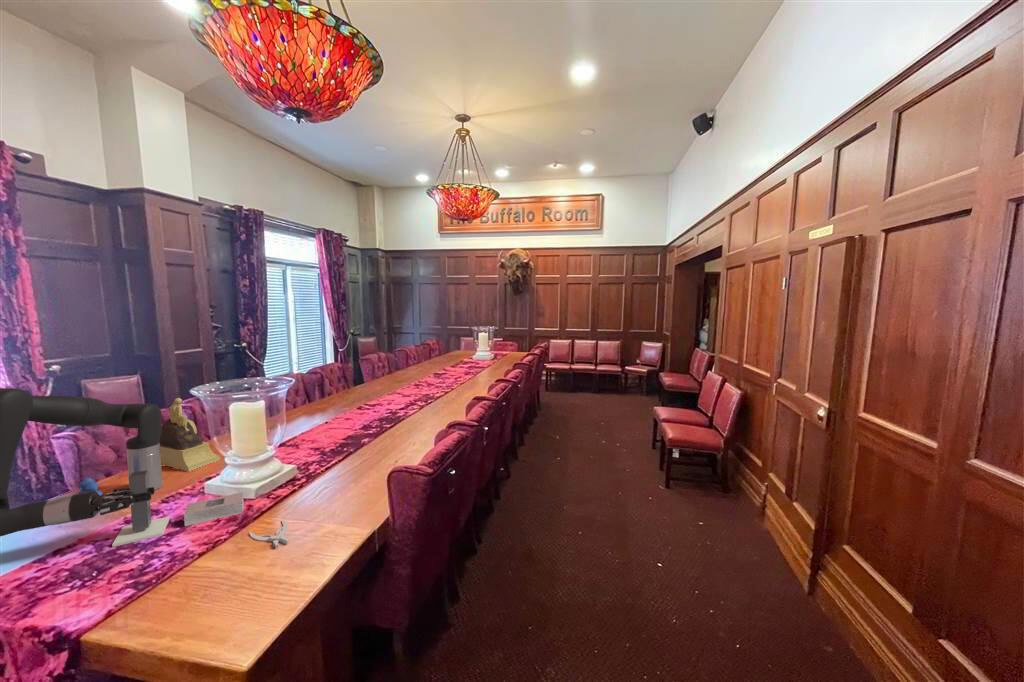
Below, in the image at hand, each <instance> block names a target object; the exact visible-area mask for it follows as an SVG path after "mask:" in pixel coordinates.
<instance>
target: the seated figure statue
mask: <svg viewBox="0 0 1024 682" xmlns="http://www.w3.org/2000/svg"><path fill="white" fill-rule="evenodd" d="M173 401H174V402H173V403H172V404H171V406H170V410H169V417H170V418H168V419H167V420H165V421H164V423H163V424H162V433H161V436H160V452H161V465H165V466H170V467H173V468H172V469H174V468H177V469H176V470H178V469H181V470H180V471H183V470H185V471H184V472H187V471H190V472H192V471H191V470H193V471H195V470H197V469H196V468H198V469H200V468H199V467H201V468H203V467H202V466H204V467H206V466H205V465H207V464H210V463H213V462H215V463H217V462H216V461H218V460H220V461H221V456H219V455H217V454H216V453H215V452H213V451H212V449H211V448H210V443H209V442H204V441H203V439H202V438H201V437H200V436H198V435H197V434H198V429H197V426H196V424H195V422H194V421H192V420H191V419H188V416H187V414H183V407H182V402H183V399H181V398H180V397H177V398H175V399H174V400H173ZM218 462H219V461H218ZM213 464H214V463H213ZM210 465H211V464H210ZM207 466H208V465H207ZM194 469H195V470H194Z"/></svg>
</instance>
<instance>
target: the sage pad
mask: <svg viewBox="0 0 1024 682" xmlns="http://www.w3.org/2000/svg"><path fill="white" fill-rule="evenodd" d="M169 522H170V516H165V517H161V518H156V519H151V524H150V526H149V528H145V529H140V530H136V531H133V530H132V524H128V525H125V526H122V528H121V529H120V531H119V532H118V535H117V536H116V538H115V539H114V541H113V542H112V545H111V546H112V548H113V547H114V548H115V547H119V546H123V545H127V544H132V543H135V542H136V543H137V542H140V541H143V540H148V539H151V538H157V537H160V536H161V537H162V536H164V533H165V531H166V529H167V527H168V524H169Z"/></svg>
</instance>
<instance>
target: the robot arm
mask: <svg viewBox="0 0 1024 682" xmlns="http://www.w3.org/2000/svg"><path fill="white" fill-rule="evenodd" d="M28 422H34V423H39V424H40V423H41V424H49V425H50V424H51V425H58V426H70V427H93V426H99V425H103V426H112V427H119V428H125V429H137V435H136V436H134V437H131V438H129V439H127V440H126V442H125V446H126V447H125V448H126V459H127V475H128V477H129V476H130V475H131V474H132V473H134V472H140V471H146V470H148V478H149V493H144V494H138V495H134V496H133V495H132V496H130V487H129V486H128V487H120V488H119V487H118V488H114V489H113V491H112V492H107V493H105V494H102V496H100V495H98V493H97V492H96V491H91V492H85V493H79V492H78V493H79V494H78V493H75V494H69V495H68V494H67V495H63V496H59V497H54V498H50V499H45V500H40V501H34V502H29V503H26V504H25V503H24V504H22V505H19V506H17V507H14V508H10V501H9V500H10V499H9V495H8V489H9V487H10V479H11V474H12V473H11V472H12V466H13V462H14V460H15V454H16V452H17V448H18V446H19V444H20V441H21V439H22V436H23V434H24V431H25V428H26V426H27V424H28ZM162 423H163V422H162V411H161V408H160V406H159V405H158V404H156V403H126V404H125V403H124V404H123V403H121V404H120V403H117V404H116V403H108V402H106V401H103V400H101V399H97V398H91V397H85V396H84V397H83V396H77V395H75V396H73V395H72V396H70V395H31V393H30V392H28V391H27V390H25V389H20V388H13V387H12V388H11V387H10V388H8V387H7V388H6V387H5V388H4V387H0V537H3V536H7V535H11V534H13V533H18V532H21V531H27V530H33V529H38V528H39V529H40V528H44V527H49V526H57V525H63V524H67V523H72V522H77V521H83V520H88V519H92V518H95V517H96V516H97V512H98V511H100V512H99V515H100V516H104V515H107V514H111V513H114V512H117V511H121V510H125V509H128V508H130V506H131V505H132V504H134V503H137V502H142V501H148V500H150V501H151V500H152V496H153V495H154V494H155V491H156V490H158V489H160V488H162V487H163V485H164V483H163V470H162V469H163V466H161V452H160V436H161V433H162V425H163V424H162Z"/></svg>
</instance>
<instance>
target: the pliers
mask: <svg viewBox="0 0 1024 682" xmlns="http://www.w3.org/2000/svg"><path fill="white" fill-rule="evenodd" d="M280 522H281V524H282V527H281V528H279V529H278V530H277V531H276V533H275V535H272V534H263V535H256V534H255V533H253V532H252V531H249V532H248V533H249V536H250V538H251V539H252V540H255V541H259V542H270V543H271V542H272V546H273V547H274V548H275V549H276V550H277V549H279V543H282V544H284V545H286V546H287V545H289V544H290V540H289V539H288V538H287V536H285V535H286V533H287V532H288V527H289V526H288V523H287V521H285V519H283V520H281V521H280Z"/></svg>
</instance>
